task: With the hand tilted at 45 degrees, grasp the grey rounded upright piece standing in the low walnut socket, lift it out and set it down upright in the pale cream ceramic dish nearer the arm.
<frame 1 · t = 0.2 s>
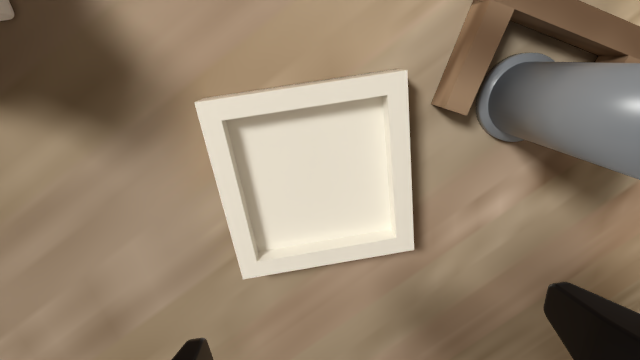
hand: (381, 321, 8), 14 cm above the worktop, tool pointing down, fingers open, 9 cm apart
grey rounded upright piece: (579, 109, 17), in the socket
dish: (314, 174, 22), on the worktop
socket: (516, 98, 21), on the worktop
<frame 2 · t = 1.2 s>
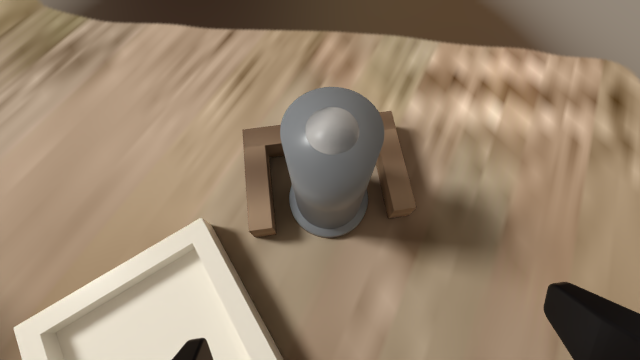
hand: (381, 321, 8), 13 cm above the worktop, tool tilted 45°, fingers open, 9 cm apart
grey rounded upright piece: (329, 173, 19), in the socket
dish: (166, 356, 20), on the worktop
socket: (328, 199, 24), on the worktop
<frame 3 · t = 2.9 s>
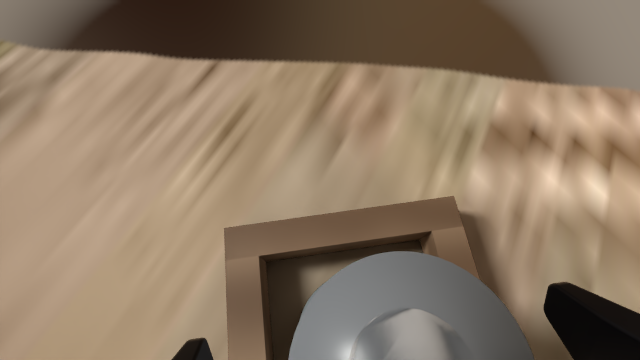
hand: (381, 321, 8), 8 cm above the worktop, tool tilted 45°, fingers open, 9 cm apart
grey rounded upright piece: (373, 347, 11), in the socket
socket: (357, 335, 15), on the worktop
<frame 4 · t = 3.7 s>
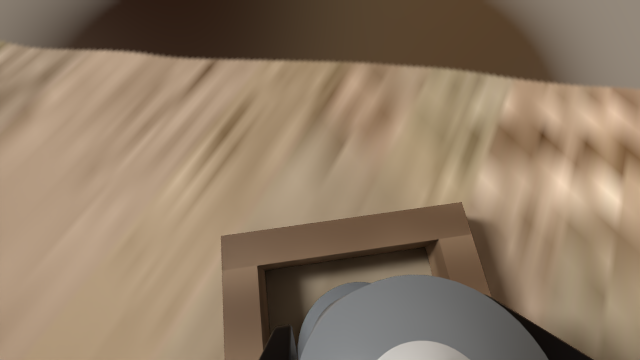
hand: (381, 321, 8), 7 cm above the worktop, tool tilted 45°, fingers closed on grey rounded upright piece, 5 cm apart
socket: (361, 348, 14), on the worktop
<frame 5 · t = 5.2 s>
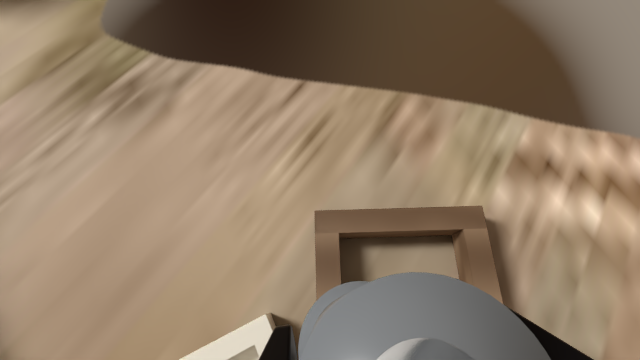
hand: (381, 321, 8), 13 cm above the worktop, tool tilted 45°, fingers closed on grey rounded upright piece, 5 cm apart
socket: (401, 298, 21), on the worktop
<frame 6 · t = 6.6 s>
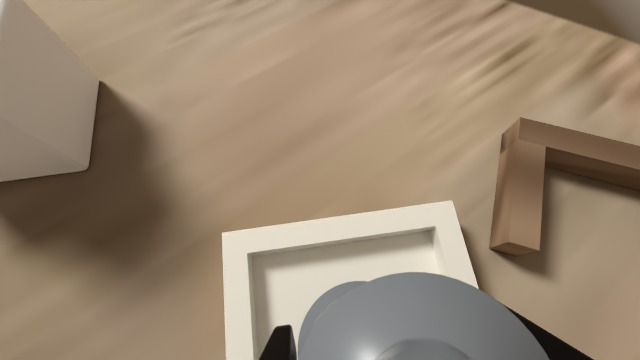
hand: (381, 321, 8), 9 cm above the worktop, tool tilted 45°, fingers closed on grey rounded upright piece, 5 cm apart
dish: (356, 340, 16), on the worktop
socket: (592, 242, 18), on the worktop
medicine bottle: (43, 130, 21), on the worktop
when the fingers open (8 cm above the worktop, at t = 7.1 s): grey rounded upright piece stays where it is, resting on dish.
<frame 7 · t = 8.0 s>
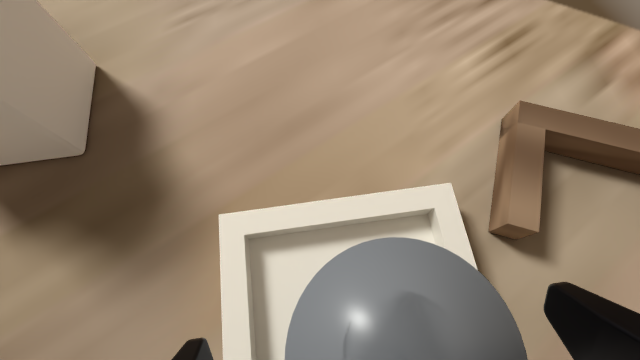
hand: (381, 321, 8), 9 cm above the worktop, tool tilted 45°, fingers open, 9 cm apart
grey rounded upright piece: (370, 334, 11), in the dish, point 6 cm above the worktop
dish: (354, 323, 16), on the worktop
socket: (593, 226, 18), on the worktop
medicine bottle: (39, 115, 21), on the worktop
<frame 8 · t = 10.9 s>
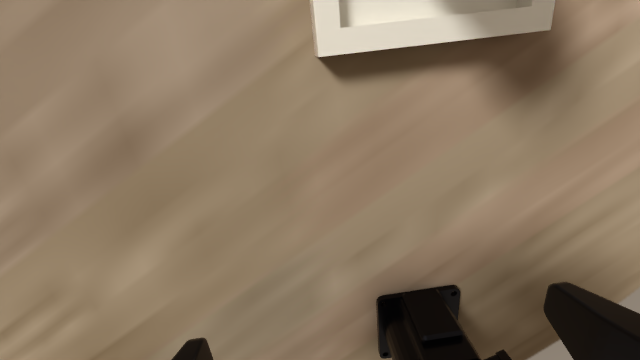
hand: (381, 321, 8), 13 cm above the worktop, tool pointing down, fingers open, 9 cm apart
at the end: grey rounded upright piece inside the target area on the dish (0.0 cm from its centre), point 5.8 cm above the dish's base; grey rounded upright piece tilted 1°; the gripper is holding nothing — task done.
